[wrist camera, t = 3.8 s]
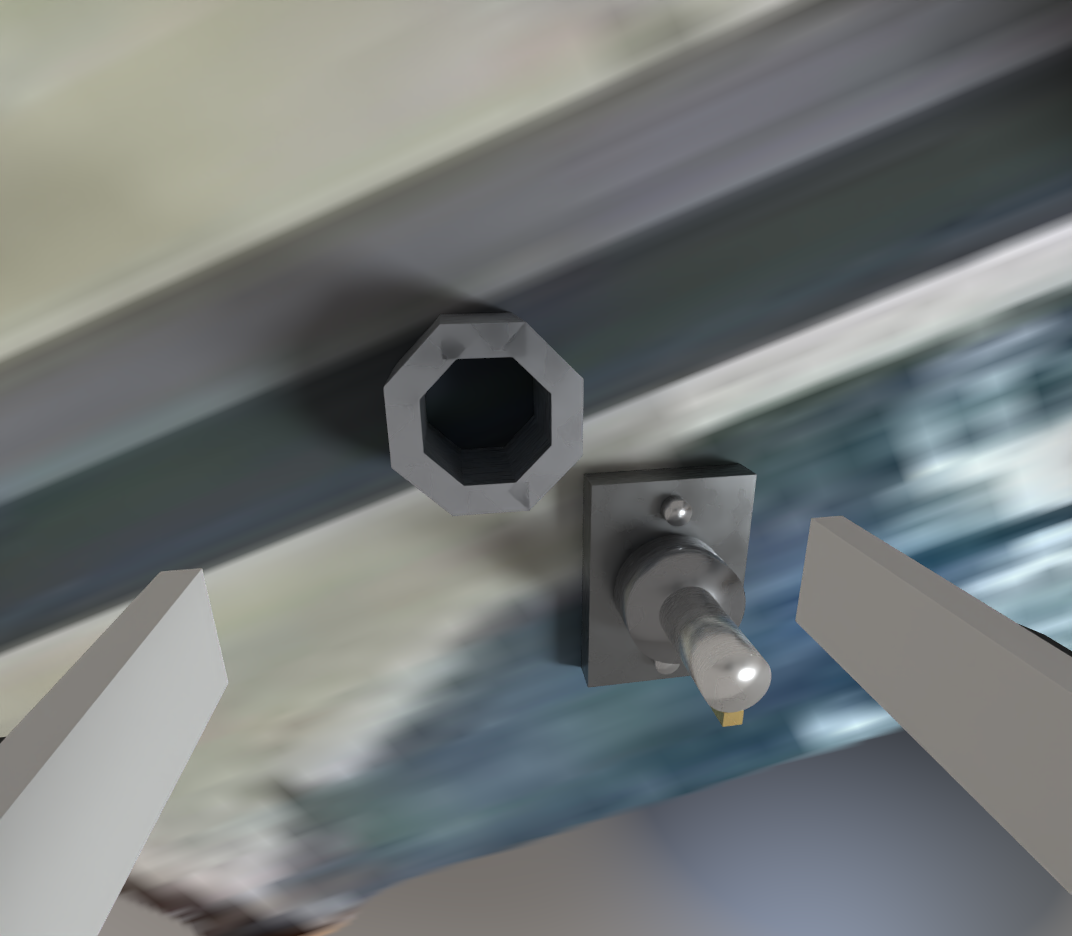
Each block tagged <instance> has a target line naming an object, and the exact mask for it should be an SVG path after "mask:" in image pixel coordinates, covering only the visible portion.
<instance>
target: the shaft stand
mask: <svg viewBox="0 0 1072 936" xmlns="http://www.w3.org/2000/svg"><path fill="white" fill-rule="evenodd" d="M756 476H757V474H755V473H753V472H752V471H750V470H749V469H747V468H746V467H744V466H743V465H741V464H731V465H715V466H700V467H684V468H669V469H654V470H638V471H623V472H607V473H592V474H584V502H583V574H582V646H581V668H582V671H583V674H584V677H585V680H586V683H587V686H588V687H596V686H605V685H613V684H622V683H630V682H639V681H648V680H656V679H665V678H673V677H682V676H691V677H692V678H693V680H694V682H695V683H696V685H697V687H698V688H699V690H700V692H701V693H702V695H703V697H704V698H705V700H706V702H707V703H708V704H709V705H710V707H711V708H712V710H713V712H714V713H715V715H716V717H717V718H718V720H719V722H720V723H721V725H722V726H723V727H724V726H732V725H740V724H742V720H743V712H744V711H743V710H744V709H747V708H749V707H751V706H752V705H754V704H755V703H757V702H758V701H759V700H760V699H761V698H762V697H763V696H764V694H765V693H766V691H767V690H768V688H769V685H770V682H771V670H770V667H769V665H768V663H767V662H766V661H765V660H764V658H763V657H762V656H761V655H760V653H759V652H758V651H757V650H756V649H755V647H754V646H753V645H752V644H751V642H750V641H749V640H748V639H747V638H746V636H745V635H744V634H743V633H742V631H741V630H740V629H739V628H738V627H739V625H740V623H741V621H742V618H743V615H744V610H745V592H744V588H743V585H744V577H745V568H746V560H747V551H748V543H749V534H750V526H751V518H752V509H753V501H754V492H755V484H756Z"/></svg>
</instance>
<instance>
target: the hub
mask: <svg viewBox="0 0 1072 936" xmlns="http://www.w3.org/2000/svg"><path fill="white" fill-rule="evenodd" d="M496 357H513V358H514V359H515V360H516V361H517V362H518V363H519V364H520V365H522V366H523V367H524V368H525V369H526V370H527V371H528V372H529V373H530V374H531V375H532V376H533V413H534V416H533V417H532V418H531V419H530V420H529V421H528V422H527V423H526V424H525V425H524V426H523V427H522V428H521V429H520V430H519V431H518V432H517V434H516V435H515V436H514V437H513V438H512V439H511V440H510V441H509V442H508V443H507V444H506V445H505V446H504V447H490V448H472V449H460V448H459V447H458V446H456V445H455V444H454V443H453V442H452V441H450V440H449V439H448V438H447V437H446V436H445V435H443V434H442V433H441V432H440V431H439V430H437V429H436V428H435V427H434V426H433V425H431V424H430V423H429V422H428V421H427V411H426V399H425V393H426V392H427V391H428V390H429V389H430V387H431V386H432V385H433V384H434V383H435V382H436V381H437V380H438V379H439V378H440V376H441V375H442V374H443V373H444V372H445V371H446V370H447V369H448V368H449V367H450V365H451V364H452V363H453V362H454V361H455V360H456V359H469V358H496ZM383 389H384V399H385V408H386V418H387V428H388V438H389V447H390V457H391V468H393V469H394V470H395V471H396V472H398V473H399V474H400V475H401V476H403V477H404V478H405V479H407V480H408V481H409V482H410V483H412V484H413V485H414V486H415V487H417V488H418V489H419V490H420V491H422V492H423V493H424V494H426V495H427V496H428V497H429V498H431V499H432V500H433V501H434V502H436V503H437V504H438V505H439V506H441V507H442V508H443V509H445V510H446V511H447V512H448V513H450V514H451V515H452V516H459V515H473V514H486V513H500V512H514V511H528V510H530V509H531V508H532V507H533V506H534V505H535V504H536V503H537V502H538V501H539V500H540V499H541V498H542V497H543V496H544V495H545V494H546V493H547V492H548V491H549V490H550V489H551V488H552V487H553V486H554V485H555V484H556V483H557V482H558V481H559V480H560V479H561V478H562V477H563V476H564V474H565V473H566V472H567V471H568V470H569V469H570V468H571V467H572V466H573V465H574V464H575V463H576V462H577V461H578V460H579V459H580V458H581V457H582V452H583V378H582V377H581V376H580V375H579V374H578V373H577V372H576V371H575V370H574V369H573V368H572V367H571V366H570V365H569V364H568V363H567V362H566V361H565V360H564V359H562V358H561V357H560V356H559V355H558V354H557V353H556V352H555V351H554V350H553V349H552V348H551V347H550V346H549V345H548V344H547V343H546V342H545V341H544V340H543V339H542V338H541V337H540V336H539V335H538V334H537V333H536V332H535V331H534V330H533V329H532V328H531V327H530V326H529V325H528V324H527V323H526V322H525V321H523V320H522V319H520V318H519V317H517V316H516V315H514V314H513V313H511V312H510V313H471V314H441V315H440V316H439V317H438V318H437V319H436V320H435V321H434V322H433V324H432V325H431V326H430V327H429V328H428V329H427V330H426V331H425V333H424V334H423V335H422V336H421V337H420V338H419V339H418V340H417V341H416V343H415V344H414V345H413V346H412V347H411V348H410V349H409V350H408V352H407V353H406V354H405V355H404V356H403V357H402V358H401V359H400V361H399V362H398V363H397V364H396V365H395V366H394V368H393V370H392V372H391V374H390V376H389V378H388V380H387V381H386V383H385V385H384V387H383Z"/></svg>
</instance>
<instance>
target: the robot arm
mask: <svg viewBox="0 0 1072 936" xmlns="http://www.w3.org/2000/svg"><path fill="white" fill-rule="evenodd" d="M796 622H797V623H798V624H799V625H800V626H801V627H802V628H803V629H804V630H805V631H806V632H807V633H808V634H809V635H810V636H811V637H812V638H813V639H814V640H815V641H816V642H817V643H818V644H819V645H820V646H821V647H822V648H823V649H824V650H825V651H826V652H827V653H828V654H829V655H830V656H831V657H832V658H833V659H834V660H835V661H836V662H837V663H838V664H839V665H840V666H841V667H842V668H843V669H844V670H845V671H846V672H847V673H848V674H849V675H850V676H851V677H852V678H853V679H854V680H855V681H856V682H857V683H858V684H859V685H860V686H861V687H863V688H864V689H865V690H866V691H867V692H868V693H869V694H870V695H871V696H872V697H873V698H874V699H875V700H876V701H877V702H878V703H879V704H880V705H881V706H882V707H883V708H884V709H885V710H886V711H887V712H888V713H889V714H890V715H891V716H892V717H893V718H894V719H895V720H896V721H897V722H898V723H899V724H900V725H901V726H902V727H903V728H904V729H905V730H906V731H907V732H908V733H909V734H910V735H911V736H912V737H913V738H914V739H915V740H916V741H917V742H918V743H919V744H920V745H921V746H922V747H923V748H924V749H925V750H926V751H927V752H928V753H929V754H930V755H931V756H932V757H933V758H934V759H935V760H936V761H937V762H938V763H939V764H940V765H941V766H942V767H943V768H944V769H945V770H946V771H947V772H948V773H949V774H950V775H951V776H952V777H953V778H954V779H955V780H956V781H957V782H958V783H959V784H960V785H961V786H962V787H963V788H964V789H965V790H966V791H967V792H968V793H969V794H970V795H971V796H972V797H973V798H974V799H975V800H976V801H978V803H979V804H980V805H982V807H983V808H985V810H986V811H987V812H988V813H989V814H990V815H991V816H992V817H993V818H994V819H996V821H998V823H1000V824H1001V826H1003V827H1004V828H1005V829H1006V830H1007V831H1008V832H1009V833H1010V834H1011V835H1012V836H1013V837H1014V838H1015V839H1016V840H1017V841H1018V842H1019V843H1020V844H1021V845H1022V846H1023V847H1024V848H1025V849H1026V850H1027V851H1028V852H1029V853H1030V854H1031V855H1032V856H1033V857H1034V858H1035V859H1036V860H1037V861H1038V862H1039V863H1040V864H1041V865H1042V866H1043V867H1044V868H1045V869H1046V870H1047V871H1048V872H1049V873H1050V874H1051V875H1052V876H1053V877H1054V878H1055V879H1056V880H1057V881H1058V882H1059V883H1060V884H1061V885H1062V886H1063V887H1064V888H1065V889H1066V890H1067V891H1068V892H1069V893H1070V894H1071V895H1072V651H1071V650H1069V649H1067V648H1066V647H1064V646H1062V645H1061V644H1059V643H1057V642H1056V641H1054V640H1052V639H1051V638H1049V637H1047V636H1046V635H1044V634H1041V633H1039V632H1037V631H1034V630H1032V629H1029V628H1027V627H1025V626H1022V625H1020V624H1017V623H1015V622H1014V621H1012V620H1011V619H1009V618H1007V617H1006V616H1004V615H1002V614H1001V613H999V612H998V611H996V610H994V609H993V608H991V607H989V606H988V605H986V604H985V603H983V602H981V601H980V600H978V599H976V598H975V597H973V596H972V595H970V594H968V593H967V592H965V591H963V590H962V589H960V588H958V587H957V586H955V585H954V584H952V583H950V582H949V581H947V580H945V579H944V578H942V577H941V576H939V575H937V574H936V573H934V572H932V571H931V570H929V569H928V568H926V567H924V566H923V565H921V564H919V563H918V562H916V561H915V560H913V559H911V558H910V557H908V556H906V555H905V554H903V553H902V552H900V551H898V550H897V549H895V548H893V547H892V546H890V545H889V544H887V543H885V542H884V541H882V540H880V539H879V538H877V537H876V536H874V535H872V534H871V533H869V532H867V531H866V530H864V529H862V528H861V527H859V526H858V525H856V524H854V523H853V522H851V521H849V520H848V519H846V518H845V517H843V516H833V517H821V518H811V524H810V531H809V537H808V544H807V550H806V557H805V563H804V569H803V576H802V582H801V589H800V595H799V602H798V608H797V615H796ZM227 685H228V678H227V674H226V670H225V665H224V661H223V657H222V652H221V648H220V644H219V639H218V635H217V631H216V626H215V622H214V618H213V613H212V609H211V605H210V600H209V596H208V591H207V587H206V583H205V578H204V574H203V570H202V568H200V569H188V570H176V571H164V572H160V573H159V574H158V575H157V576H156V577H155V578H154V579H153V580H152V581H151V583H150V584H149V585H148V586H147V587H146V588H145V589H144V590H143V591H142V592H141V593H140V594H139V595H138V596H137V598H136V599H135V600H134V601H133V602H132V603H131V604H130V605H129V606H128V607H127V608H126V609H125V610H124V611H123V613H122V614H121V615H120V616H119V617H118V618H117V619H116V620H115V621H114V622H113V623H112V624H111V625H110V626H109V628H108V629H107V630H106V631H105V632H104V633H103V634H102V635H101V636H100V637H99V638H98V639H97V640H96V641H95V643H94V644H93V645H92V646H91V647H90V648H89V649H88V650H87V651H86V652H85V653H84V654H83V655H82V656H81V658H80V659H79V660H78V661H77V662H76V663H75V664H74V665H73V666H72V667H71V668H70V669H69V670H68V671H67V673H66V674H65V675H64V676H63V677H62V678H61V679H60V680H59V681H58V682H57V683H56V684H55V685H54V686H53V688H52V689H51V690H50V691H49V692H48V693H47V694H46V695H45V696H44V697H43V698H42V699H41V700H40V701H39V703H38V704H37V705H36V706H35V707H34V708H33V709H32V710H31V711H30V712H29V713H28V714H27V715H26V716H25V718H24V719H23V720H22V721H21V722H20V723H19V724H18V725H17V726H16V727H15V728H14V729H13V730H12V731H11V733H10V734H9V735H8V736H7V737H1V738H0V936H98V934H99V932H100V930H101V928H102V926H103V924H104V922H105V920H106V918H107V916H108V914H109V912H110V910H111V908H112V906H113V905H114V903H115V901H116V899H117V897H118V895H119V893H120V891H121V889H122V887H123V885H124V883H125V881H126V880H127V878H128V876H129V874H130V872H131V870H132V868H133V866H134V864H135V862H136V860H137V858H138V856H139V854H140V853H141V851H142V849H143V847H144V845H145V843H146V841H147V839H148V837H149V835H150V833H151V831H152V829H153V827H154V825H155V824H156V822H157V820H158V818H159V816H160V814H161V812H162V810H163V808H164V806H165V804H166V802H167V800H168V798H169V797H170V795H171V793H172V791H173V789H174V787H175V785H176V783H177V781H178V779H179V777H180V775H181V773H182V771H183V769H184V768H185V766H186V764H187V762H188V760H189V758H190V756H191V754H192V752H193V750H194V748H195V746H196V744H197V742H198V741H199V739H200V737H201V735H202V733H203V731H204V729H205V727H206V725H207V723H208V721H209V719H210V717H211V715H212V713H213V712H214V710H215V708H216V706H217V704H218V702H219V700H220V698H221V696H222V694H223V692H224V690H225V688H226V686H227Z"/></svg>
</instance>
